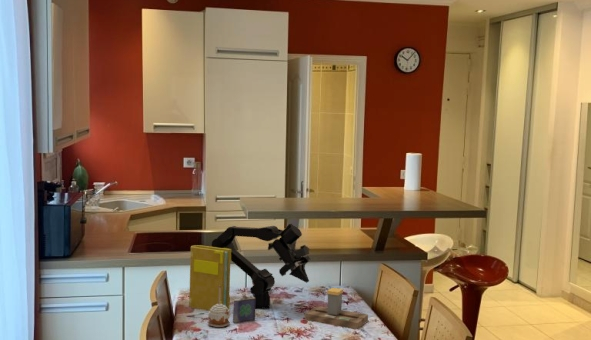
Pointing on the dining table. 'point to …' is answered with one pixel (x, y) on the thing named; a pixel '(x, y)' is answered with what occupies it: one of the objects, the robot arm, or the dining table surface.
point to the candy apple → (219, 314)
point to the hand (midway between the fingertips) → (307, 281)
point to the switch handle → (334, 301)
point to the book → (209, 277)
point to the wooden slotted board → (337, 318)
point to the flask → (244, 309)
